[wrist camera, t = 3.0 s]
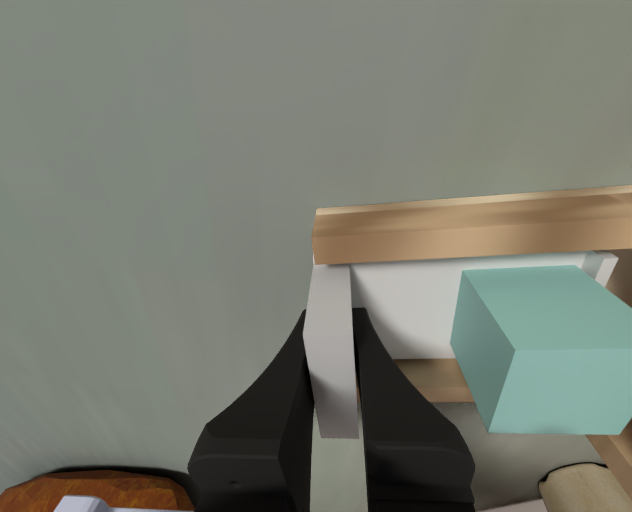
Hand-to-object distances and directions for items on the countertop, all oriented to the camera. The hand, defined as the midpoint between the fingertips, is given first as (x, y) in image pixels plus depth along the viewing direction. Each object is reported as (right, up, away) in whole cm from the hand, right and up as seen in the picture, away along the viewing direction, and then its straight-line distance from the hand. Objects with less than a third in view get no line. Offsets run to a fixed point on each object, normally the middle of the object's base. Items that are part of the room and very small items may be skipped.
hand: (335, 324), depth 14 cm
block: (+8, +1, 0) cm, 8 cm away
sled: (+5, +1, +1) cm, 5 cm away
